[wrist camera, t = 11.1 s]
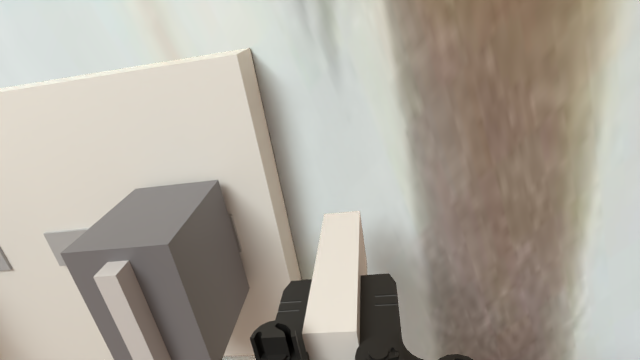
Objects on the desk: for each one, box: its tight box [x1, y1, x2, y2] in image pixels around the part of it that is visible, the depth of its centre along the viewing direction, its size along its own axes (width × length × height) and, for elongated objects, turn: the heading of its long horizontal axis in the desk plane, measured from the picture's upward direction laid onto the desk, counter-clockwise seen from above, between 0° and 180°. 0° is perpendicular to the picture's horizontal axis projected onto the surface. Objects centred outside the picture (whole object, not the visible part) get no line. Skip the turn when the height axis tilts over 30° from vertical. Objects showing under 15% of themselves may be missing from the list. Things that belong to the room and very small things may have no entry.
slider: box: [60, 180, 250, 360], centre depth 17 cm, size 4×6×6 cm, turn 9°
